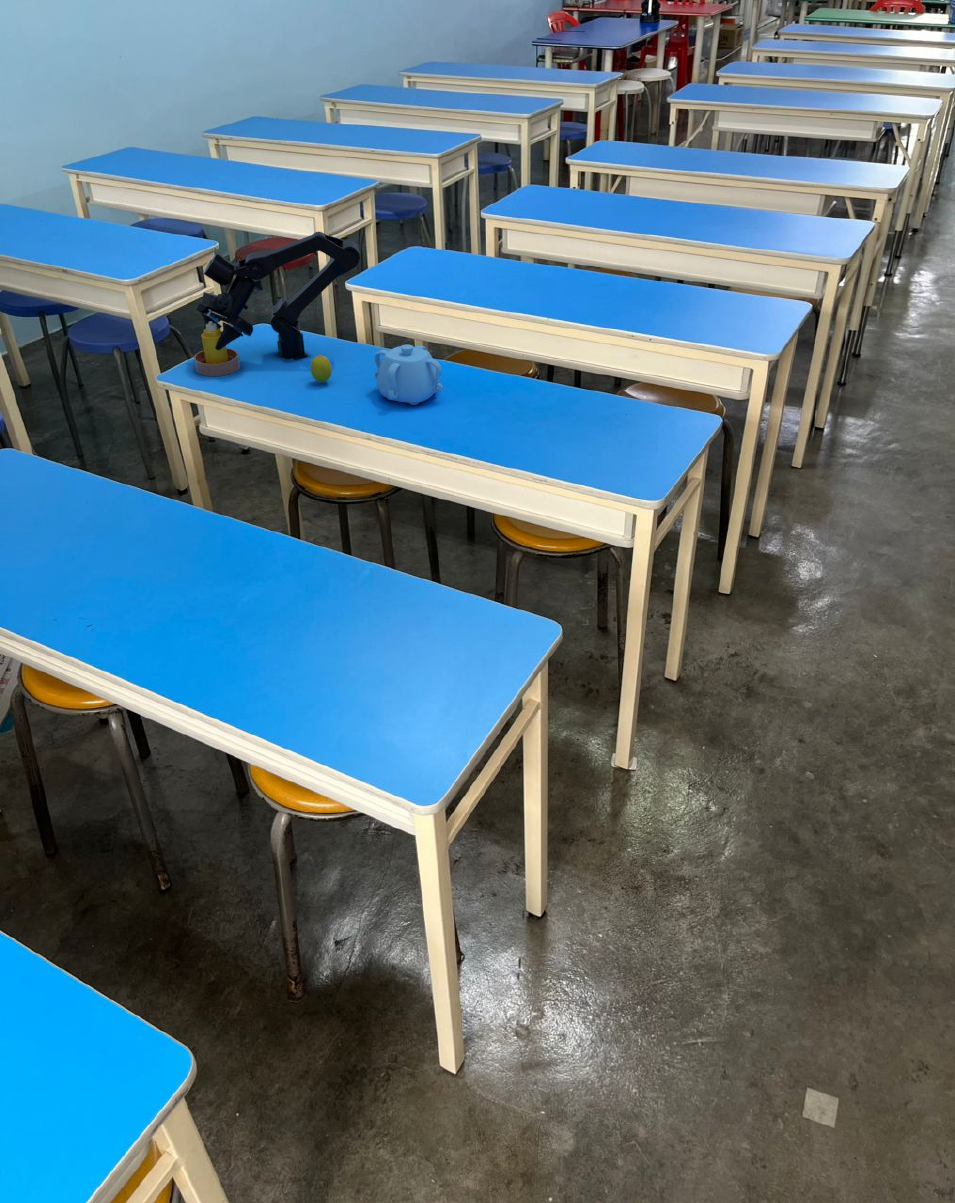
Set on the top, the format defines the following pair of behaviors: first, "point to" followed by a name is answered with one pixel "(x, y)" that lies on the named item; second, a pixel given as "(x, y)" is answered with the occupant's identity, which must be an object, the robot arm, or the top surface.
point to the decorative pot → (407, 374)
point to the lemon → (321, 368)
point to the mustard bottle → (213, 345)
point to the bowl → (219, 368)
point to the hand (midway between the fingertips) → (210, 346)
